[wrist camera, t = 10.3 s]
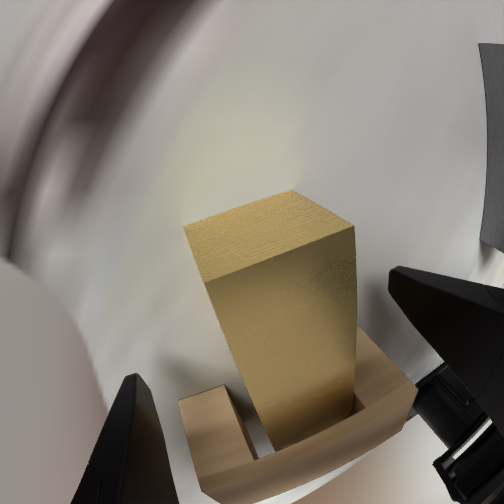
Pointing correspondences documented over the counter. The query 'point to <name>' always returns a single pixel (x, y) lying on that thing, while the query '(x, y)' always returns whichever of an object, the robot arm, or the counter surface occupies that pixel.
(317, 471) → the light wood notched block
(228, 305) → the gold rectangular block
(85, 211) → the counter surface
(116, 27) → the counter surface
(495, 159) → the grey u channel block
